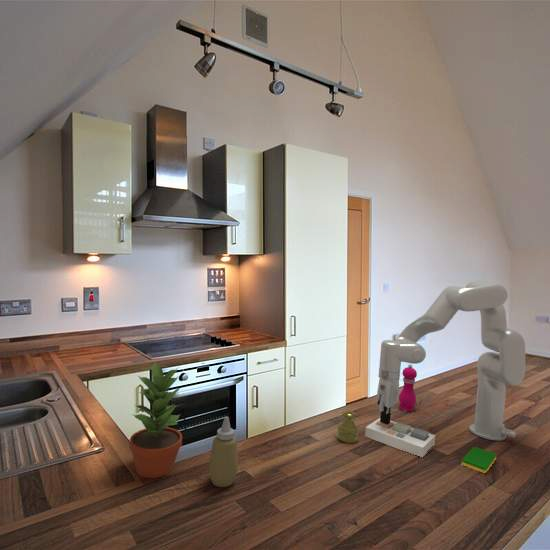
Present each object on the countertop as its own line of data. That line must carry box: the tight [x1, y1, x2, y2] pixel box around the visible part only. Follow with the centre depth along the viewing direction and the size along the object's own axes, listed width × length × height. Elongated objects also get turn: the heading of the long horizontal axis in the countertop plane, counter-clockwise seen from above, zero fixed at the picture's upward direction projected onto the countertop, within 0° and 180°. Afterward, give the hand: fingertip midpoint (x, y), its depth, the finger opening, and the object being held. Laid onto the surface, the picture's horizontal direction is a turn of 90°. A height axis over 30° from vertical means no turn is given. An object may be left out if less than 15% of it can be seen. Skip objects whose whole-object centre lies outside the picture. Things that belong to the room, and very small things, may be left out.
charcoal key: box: [411, 427, 430, 441], centre depth 138 cm, size 5×5×3 cm
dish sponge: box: [461, 446, 497, 473], centre depth 129 cm, size 7×14×2 cm, turn 139°
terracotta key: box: [377, 421, 394, 429], centre depth 146 cm, size 5×5×3 cm
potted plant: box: [128, 360, 183, 479], centre depth 112 cm, size 15×15×30 cm
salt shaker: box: [336, 409, 360, 444], centre depth 140 cm, size 7×7×10 cm
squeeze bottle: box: [208, 416, 239, 488], centre depth 108 cm, size 8×8×18 cm
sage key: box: [393, 422, 411, 435], centre depth 142 cm, size 5×5×3 cm
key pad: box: [364, 417, 436, 458], centre depth 141 cm, size 21×13×4 cm, turn 51°
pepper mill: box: [398, 363, 418, 412], centre depth 173 cm, size 7×7×20 cm
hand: (384, 422), depth 146 cm, fingers closed
